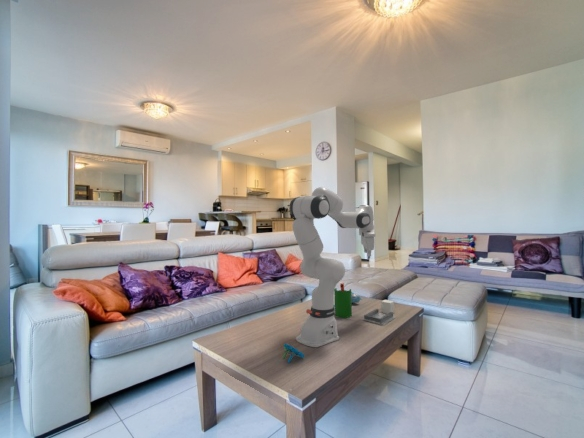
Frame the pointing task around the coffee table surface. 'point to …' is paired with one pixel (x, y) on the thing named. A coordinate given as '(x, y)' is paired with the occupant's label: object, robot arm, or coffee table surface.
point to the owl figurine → (354, 298)
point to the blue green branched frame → (292, 352)
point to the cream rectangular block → (387, 306)
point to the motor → (343, 302)
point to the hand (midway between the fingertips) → (367, 254)
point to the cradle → (378, 317)
